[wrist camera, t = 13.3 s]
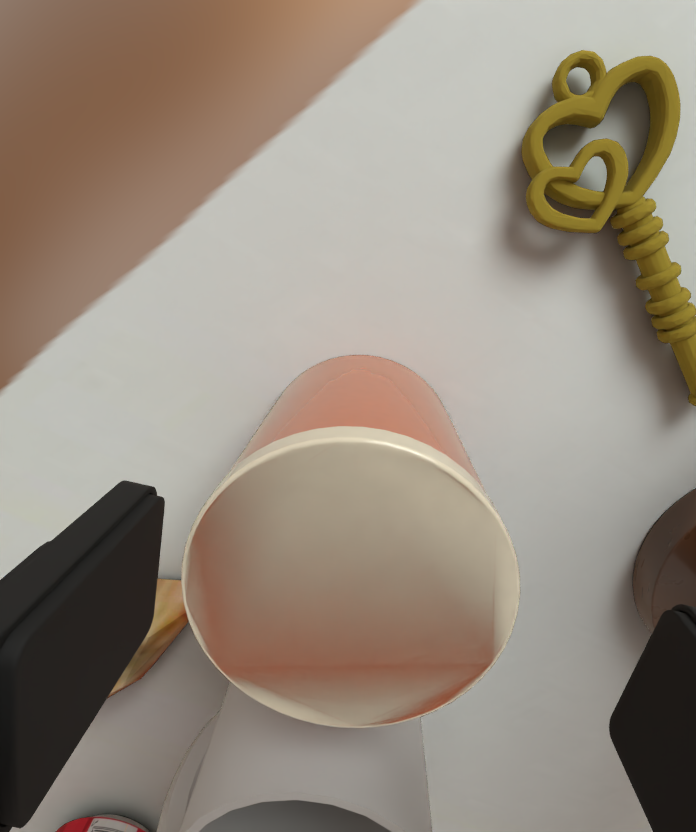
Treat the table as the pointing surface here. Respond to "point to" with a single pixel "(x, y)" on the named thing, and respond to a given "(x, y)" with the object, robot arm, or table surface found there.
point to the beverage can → (103, 824)
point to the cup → (297, 776)
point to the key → (618, 186)
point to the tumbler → (352, 554)
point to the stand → (667, 563)
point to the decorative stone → (157, 632)
